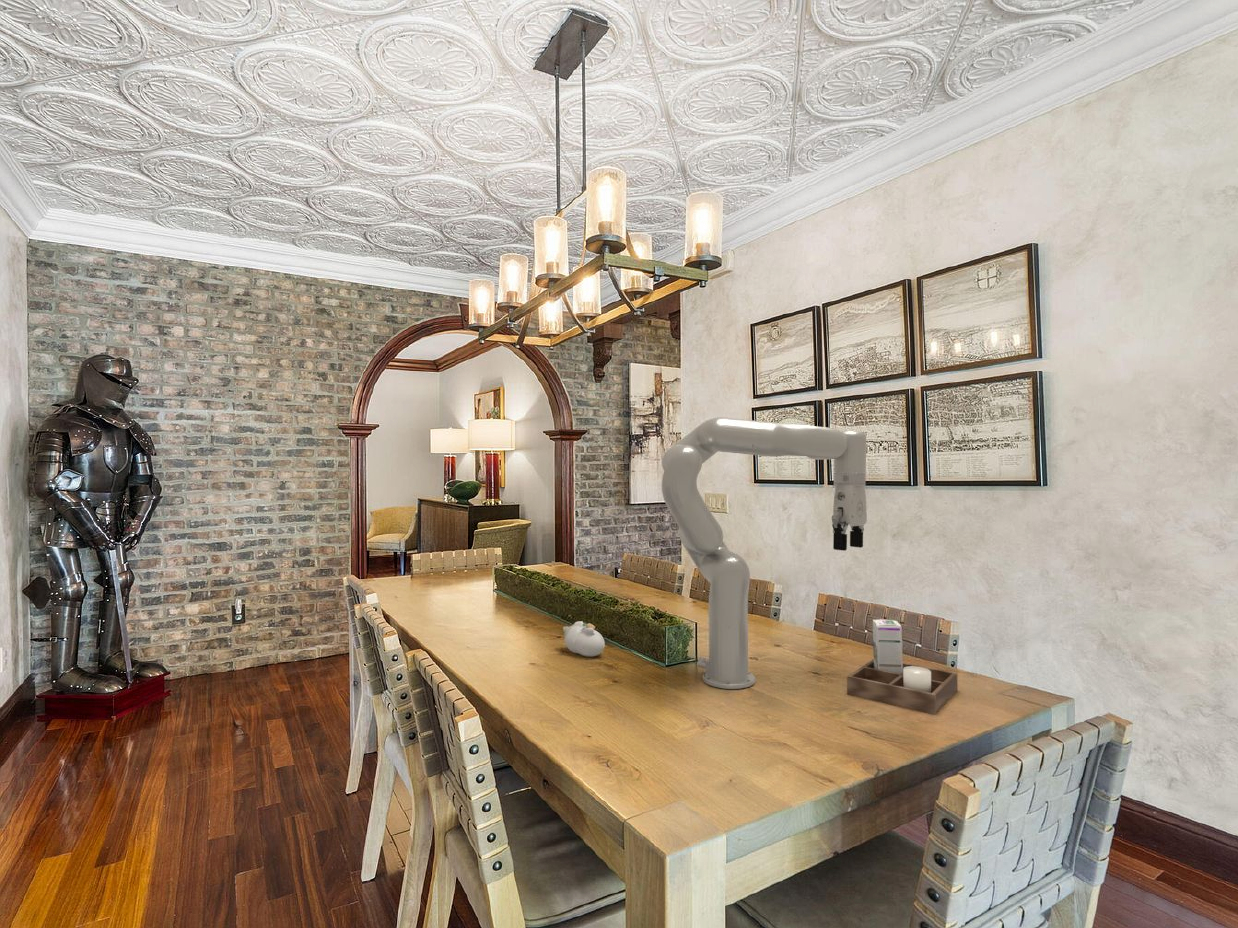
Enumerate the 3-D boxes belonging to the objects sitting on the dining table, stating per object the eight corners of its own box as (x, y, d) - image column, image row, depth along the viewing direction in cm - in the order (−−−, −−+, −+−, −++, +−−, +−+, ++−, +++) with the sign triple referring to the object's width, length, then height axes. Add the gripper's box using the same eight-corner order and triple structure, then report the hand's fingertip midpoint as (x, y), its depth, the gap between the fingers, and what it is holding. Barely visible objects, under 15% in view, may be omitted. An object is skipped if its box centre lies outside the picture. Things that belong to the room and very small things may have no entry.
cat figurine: (606, 624, 176) (568, 610, 186) (587, 644, 171) (550, 628, 181) (615, 649, 180) (578, 634, 190) (598, 669, 175) (560, 652, 185)
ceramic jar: (900, 702, 138) (899, 670, 138) (908, 695, 142) (907, 664, 142) (927, 708, 135) (926, 675, 135) (934, 701, 139) (934, 669, 139)
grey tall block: (904, 687, 147) (903, 625, 148) (877, 686, 149) (876, 624, 149) (898, 679, 153) (897, 619, 153) (872, 678, 154) (871, 618, 154)
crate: (847, 698, 144) (847, 676, 144) (875, 677, 158) (875, 657, 158) (935, 719, 132) (934, 694, 132) (957, 694, 146) (957, 672, 146)
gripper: (849, 480, 151) (848, 552, 151) (877, 480, 164) (876, 547, 163) (819, 479, 156) (818, 549, 156) (849, 480, 169) (848, 544, 169)
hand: (848, 548), depth 160 cm, fingers open, 9 cm apart
